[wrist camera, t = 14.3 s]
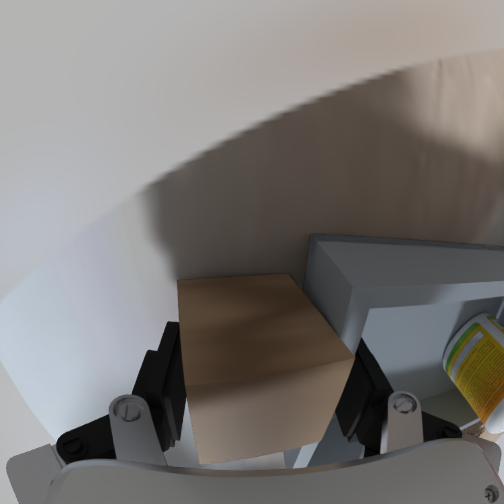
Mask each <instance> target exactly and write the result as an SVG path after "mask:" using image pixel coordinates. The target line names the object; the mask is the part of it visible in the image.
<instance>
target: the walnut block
mask: <svg viewBox="0 0 504 504" xmlns="http://www.w3.org/2000/svg"><path fill="white" fill-rule="evenodd" d="M177 290H178V309H179V325H180V339H181V351H182V362H183V372H184V381H185V389H186V395H187V401H188V407H189V413H190V419H191V424H192V430H193V435H194V440H195V445H196V450H197V455H198V459H199V464H210V463H219V462H227V461H234V460H241V459H247V458H252V457H258V456H263V455H268V454H273V453H277V452H282V451H286V450H290V449H294V448H298V447H302V446H305V445H309V444H313V443H316V442H319V441H321V440H322V438H323V436H324V434H325V431H326V429H327V427H328V425H329V423H330V420H331V418H332V416H333V414H334V411H335V409H336V407H337V404H338V402H339V399H340V397H341V395H342V392H343V390H344V387H345V384H346V382H347V379H348V377H349V374H350V371H351V369H352V366H353V363H354V360H355V356H354V355H353V354H352V352H351V351H350V350H349V349H348V347H347V346H346V345H345V344H344V342H343V341H342V340H341V339H340V337H339V336H338V335H337V334H336V332H335V331H334V330H333V329H332V327H331V326H330V325H329V324H328V322H327V321H326V320H325V319H324V317H323V316H322V315H321V314H320V312H319V311H318V310H317V309H316V308H315V306H314V305H313V304H312V303H311V301H310V300H309V299H308V298H307V296H306V295H305V294H304V293H303V292H302V290H301V289H300V288H299V287H298V285H297V284H296V283H295V282H294V280H293V279H292V278H291V277H290V276H289V274H288V273H283V274H269V275H254V276H238V277H221V278H204V279H184V280H177Z"/></svg>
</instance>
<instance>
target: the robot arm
mask: <svg viewBox="0 0 504 504" xmlns="http://www.w3.org/2000/svg"><path fill="white" fill-rule="evenodd" d="M186 397H187V395H186V389H185V381H184V372H183V362H182V351H181V339H180V325H179V322H170V321H168V322H167V324H166V327H165V330H164V333H163V336H162V339H161V342H160V345H159V348H158V351H154V350H148V351H147V352H146V355H145V357H144V360H143V363H142V366H141V368H140V371H139V374H138V377H137V379H136V382H135V385H134V388H133V391H132V394H131V395H122V396H119V397H117V398H116V399H114V400H113V401H112V402H111V404H110V406H109V414H108V415H106V416H103V417H101V418H99V419H97V420H94V421H92V422H90V423H87V424H85V425H83V426H80V427H78V428H75V429H73V430H70V431H68V432H66V433H64V434H62V435H61V436H60V437H59V438H58V440H57V443H56V444H55V445H53V446H51V445H50V444H47V445H45V446H42V447H39V448H36V449H34V450H31V451H28V452H25V453H22V454H20V455H16V456H14V457H12V458H10V460H9V461H8V462H7V466H6V470H7V474H8V477H9V480H10V482H11V485H12V488H13V490H14V493H15V495H16V498H17V500H18V502H19V504H504V485H503V483H502V481H501V479H500V477H499V476H498V471H499V466H500V460H501V449H500V447H499V446H498V445H497V444H496V443H494V442H491V441H488V440H485V439H482V438H480V437H477V436H474V435H471V434H468V433H466V432H465V433H464V434H462V432H461V430H460V428H459V427H458V426H457V425H455V424H454V423H452V422H449V421H446V420H444V419H441V418H439V417H436V416H434V415H431V414H429V413H426V412H424V411H421V406H420V402H419V400H418V399H417V397H416V396H414V395H413V394H411V393H409V392H406V391H397V392H394V390H393V388H392V387H391V385H390V383H389V381H388V379H387V378H386V376H385V374H384V372H383V371H382V369H381V367H380V365H379V364H378V362H377V360H376V358H375V357H374V355H373V354H372V353H371V352H370V350H369V348H368V347H367V345H366V343H365V342H364V340H363V338H362V337H361V339H360V342H359V345H358V348H357V351H356V354H355V360H354V363H353V366H352V369H351V371H350V374H349V377H348V379H347V382H346V384H345V387H344V390H343V392H342V395H341V397H340V399H339V402H338V404H337V407H336V409H335V413H336V416H337V419H338V422H339V425H340V428H341V431H342V434H343V436H344V437H347V439H348V442H349V443H351V442H357V441H359V443H360V444H362V445H361V451H360V458H359V459H356V460H351V461H346V462H340V463H334V464H327V465H320V466H313V467H304V468H293V469H280V470H256V471H229V470H206V469H193V468H182V467H172V466H168V465H167V462H166V459H165V457H164V454H163V452H165V451H166V450H168V449H169V447H174V445H175V440H178V441H179V440H180V437H181V430H182V423H183V416H184V410H185V403H186Z"/></svg>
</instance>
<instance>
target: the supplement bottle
mask: <svg viewBox="0 0 504 504" xmlns="http://www.w3.org/2000/svg"><path fill="white" fill-rule="evenodd" d="M443 368H444V370H445V371H446V373H447V374H448V376H449V377H450V378H451V380H452V381H453V382H454V384H455V385H456V386H457V388H458V389H459V390H460V392H461V393H462V395H463V396H464V397H465V399H466V400H467V401H468V403H469V404H470V406H471V407H472V408H473V410H474V411H475V413H476V414H477V416H478V417H479V419H480V420H481V422H482V423H483V425H484V426H485V428H486V429H487V430H488V431H489V432H490V433H493V434H497V433H501V432H503V431H504V325H503V324H501V323H500V322H499V321H498V320H497V319H496V318H495V317H493V316H492V315H491V314H489V313H481V314H478V315H476V316H475V317H473V318H472V319H470V320H469V321H468V322H467V323H466V324H464V325H463V326H462V328H461V329H460V330H459V331H458V332H457V333H456V334H455V336H454V337H453V338H452V340H451V341H450V343H449V345H448V346H447V349H446V351H445V354H444V357H443Z"/></svg>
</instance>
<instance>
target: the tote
mask: <svg viewBox="0 0 504 504" xmlns="http://www.w3.org/2000/svg"><path fill="white" fill-rule="evenodd" d="M303 293H304V294H305V295H306V296H307V298H308V299H309V300H310V301H311V303H312V304H313V305H314V306H315V308H316V309H317V310H318V311H319V312H320V314H321V315H322V316H323V317H324V319H325V320H326V321H327V322H328V324H329V325H330V326H331V327H332V329H333V330H334V331H335V332H336V334H337V335H338V336H339V337H340V339H341V340H342V341H343V342H344V344H345V345H346V346H347V347H348V349H349V350H350V351H351V352H352V354H353V355H354V356H355V354H356V351H357V348H358V345H359V342H360V339H361V337H362V338H363V340H364V342H365V343H366V345H367V347H368V348H369V350H370V352H371V353H372V354H373V355H374V357H375V358H376V360H377V362H378V364H379V365H380V367H381V369H382V371H383V372H384V374H385V376H386V378H387V379H388V381H389V383H390V385H391V387H392V388H393V390H394V392H397V391H406V392H409V393H411V394H413V395H414V396H416V397H417V399H418V400H419V402H420V406H421V411H424V412H426V413H429V414H431V415H434V416H436V417H439V418H441V419H444V420H446V421H449V422H452V423H454V424H455V425H457V426H458V427H459V428H460V430H463V429H465V428H467V427H469V426H471V425H473V424H475V423H477V422H479V421H480V419H479V417H478V416H477V414H476V413H475V411H474V410H473V408H472V407H471V406H470V404H469V403H468V401H467V400H466V399H465V397H464V396H463V395H462V393H461V392H460V390H459V389H458V388H457V386H456V385H455V384H454V382H453V381H452V380H451V378H450V377H449V376H448V374H447V373H446V371H445V370H444V368H443V357H444V354H445V351H446V349H447V346H448V345H449V343H450V341H451V340H452V338H453V337H454V336H455V334H456V333H457V332H458V331H459V330H460V329H461V328H462V326H463V325H464V324H466V323H467V322H468V321H469V320H470V319H472V318H473V317H475V316H476V315H478V314H481V313H489V314H491V315H492V316H493V317H495V318H496V319H497V320H498V321H499V322H500V323H501V324H503V325H504V247H500V246H489V245H477V244H465V243H452V242H439V241H425V240H411V239H396V238H380V237H363V236H345V235H325V234H311V237H310V244H309V252H308V259H307V266H306V273H305V279H304V286H303ZM361 445H362V444H360V443H359V441H357V442H351V443H349V442H348V439H347V437H344V436H343V434H342V431H341V428H340V425H339V422H338V419H337V416H336V413H335V411H334V414H333V416H332V418H331V420H330V423H329V425H328V427H327V429H326V431H325V434H324V436H323V438H322V440H321V441H319V442H316V443H313V444H309V445H305V446H302V447H298V448H294V449H290V450H286V451H283V453H284V459H285V464H286V469H293V468H304V467H313V466H320V465H327V464H334V463H340V462H346V461H351V460H356V459H359V458H360V451H361Z"/></svg>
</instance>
